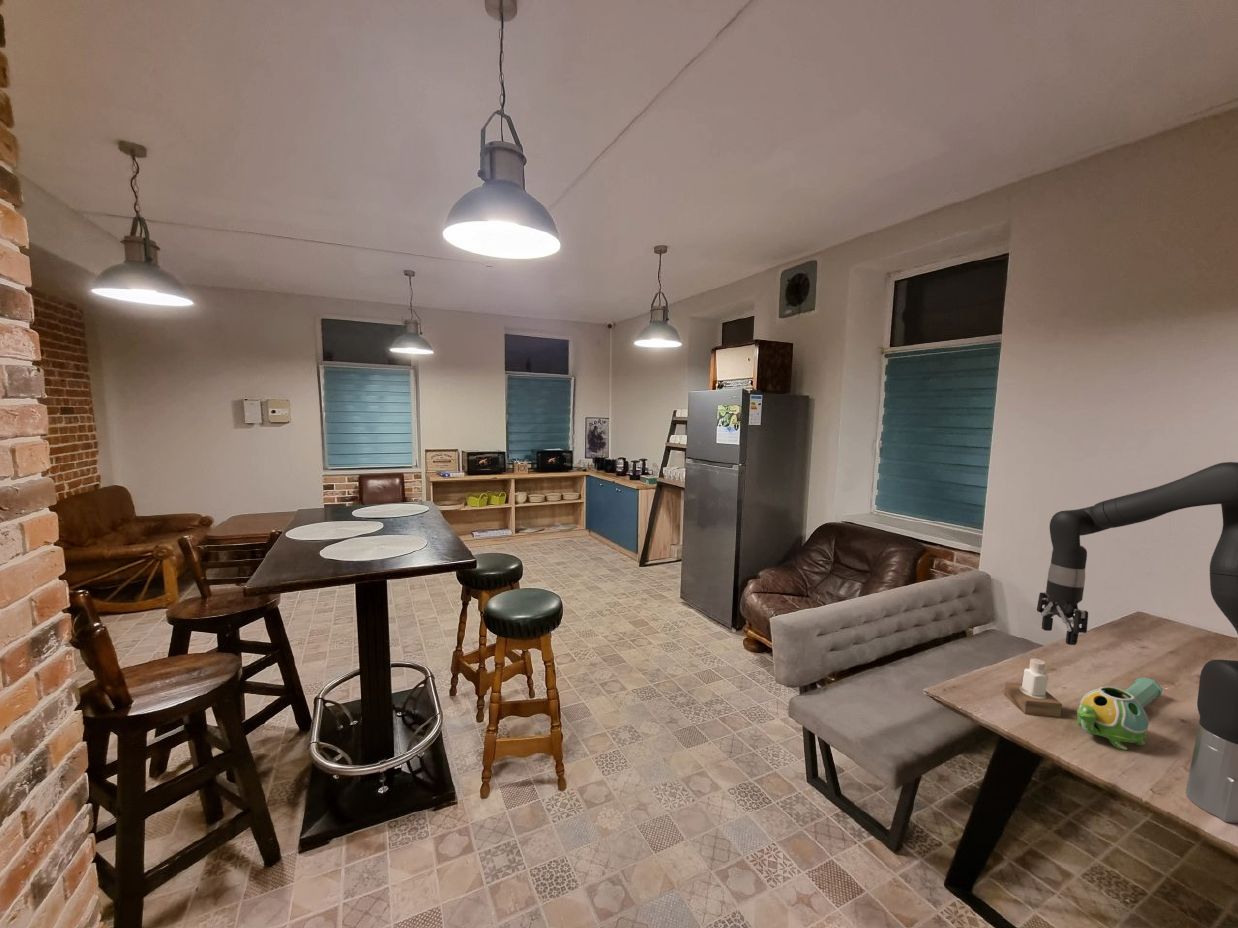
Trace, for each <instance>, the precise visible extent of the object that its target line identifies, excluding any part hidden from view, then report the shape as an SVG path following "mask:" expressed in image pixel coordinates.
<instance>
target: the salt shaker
mask: <svg viewBox="0 0 1238 928" xmlns="http://www.w3.org/2000/svg"><path fill="white" fill-rule="evenodd" d="M1045 665H1046V663H1045V661H1043V660H1041V659H1038V658H1035V657H1034V658H1030V661H1029V668H1025V669H1024V671H1023V678H1022V683H1021V684H1022V688H1023V689H1024V690H1026V691H1027V692H1028V693H1030V694H1031V695H1037V696H1044V695H1045V694H1046V691H1047V686H1048V679H1049V677H1048V674H1046V673H1045V672H1044V671H1045Z"/></svg>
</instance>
